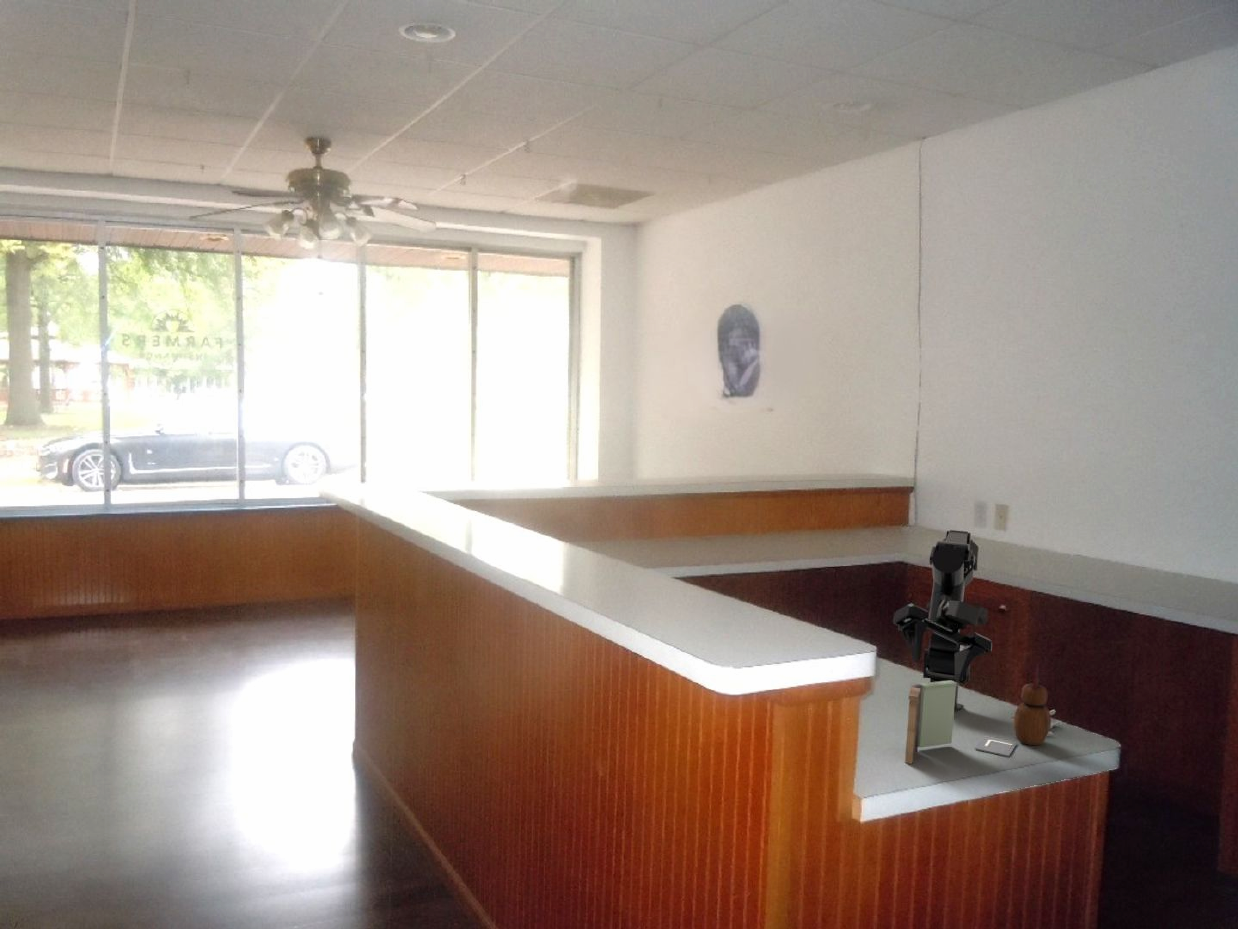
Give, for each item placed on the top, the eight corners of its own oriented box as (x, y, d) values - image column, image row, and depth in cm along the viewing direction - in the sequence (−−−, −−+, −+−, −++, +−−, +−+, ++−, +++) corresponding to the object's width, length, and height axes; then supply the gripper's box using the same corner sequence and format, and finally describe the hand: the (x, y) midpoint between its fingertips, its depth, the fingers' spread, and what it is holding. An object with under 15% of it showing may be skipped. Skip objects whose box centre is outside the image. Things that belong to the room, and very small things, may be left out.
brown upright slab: (906, 748, 186) (911, 682, 185) (917, 750, 186) (922, 684, 185) (902, 762, 180) (907, 694, 178) (914, 764, 179) (919, 696, 178)
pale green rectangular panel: (920, 748, 185) (925, 686, 184) (914, 745, 186) (919, 683, 185) (952, 743, 188) (956, 682, 187) (946, 740, 189) (950, 680, 188)
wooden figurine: (1024, 734, 197) (1030, 659, 195) (1053, 743, 193) (1059, 666, 191) (1007, 741, 192) (1013, 665, 191) (1036, 750, 188) (1043, 672, 187)
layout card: (983, 737, 194) (984, 735, 194) (1016, 744, 191) (1016, 742, 191) (975, 749, 187) (975, 747, 187) (1008, 757, 184) (1009, 755, 184)
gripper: (931, 566, 188) (921, 641, 180) (1014, 605, 191) (1007, 680, 183) (896, 585, 197) (885, 657, 189) (976, 622, 200) (969, 694, 192)
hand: (937, 672), depth 188 cm, fingers open, 9 cm apart
